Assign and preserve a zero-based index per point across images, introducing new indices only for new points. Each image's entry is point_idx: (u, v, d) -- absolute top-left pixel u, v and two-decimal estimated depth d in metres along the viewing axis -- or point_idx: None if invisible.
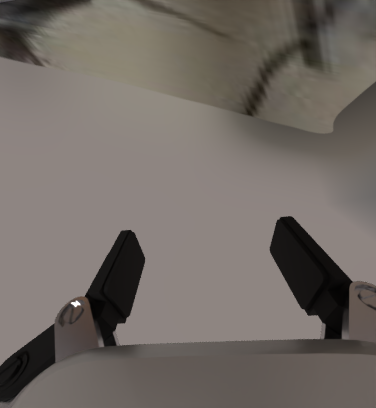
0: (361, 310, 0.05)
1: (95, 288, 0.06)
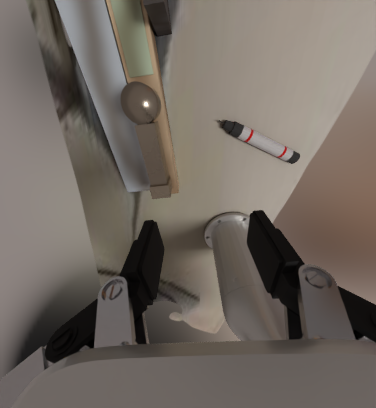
0: (310, 292, 0.06)
1: (131, 268, 0.07)
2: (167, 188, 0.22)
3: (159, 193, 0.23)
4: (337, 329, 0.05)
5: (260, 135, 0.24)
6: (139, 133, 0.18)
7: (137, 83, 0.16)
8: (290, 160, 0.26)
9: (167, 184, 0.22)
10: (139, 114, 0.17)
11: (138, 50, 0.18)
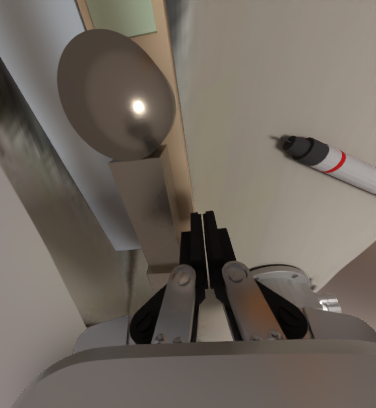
0: (236, 290, 0.06)
1: (196, 257, 0.07)
2: None
3: (166, 282, 0.11)
4: (262, 317, 0.05)
5: (357, 161, 0.13)
6: (122, 180, 0.07)
7: (106, 37, 0.05)
8: None
9: None
10: (119, 136, 0.06)
11: None
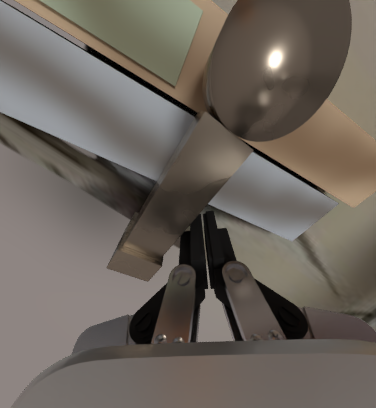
0: (236, 291, 0.06)
1: (196, 257, 0.07)
2: (155, 269, 0.09)
3: (130, 267, 0.09)
4: (262, 317, 0.05)
5: None
6: (198, 140, 0.06)
7: (341, 7, 0.04)
8: None
9: (160, 261, 0.10)
10: (248, 99, 0.05)
11: (144, 15, 0.07)
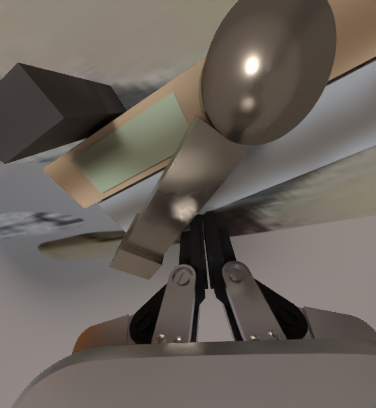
0: (236, 290, 0.06)
1: (196, 257, 0.07)
2: (156, 267, 0.10)
3: (131, 266, 0.10)
4: (262, 317, 0.05)
5: None
6: (193, 145, 0.06)
7: (325, 18, 0.04)
8: None
9: (161, 260, 0.10)
10: (239, 106, 0.05)
11: (152, 134, 0.10)
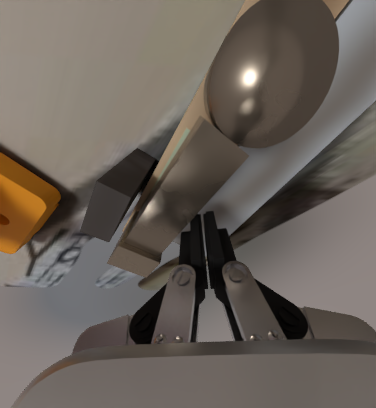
0: (236, 290, 0.06)
1: (195, 256, 0.07)
2: (153, 265, 0.10)
3: (129, 263, 0.10)
4: (262, 317, 0.05)
5: None
6: (198, 145, 0.06)
7: (329, 30, 0.04)
8: None
9: (159, 258, 0.10)
10: (245, 109, 0.05)
11: None
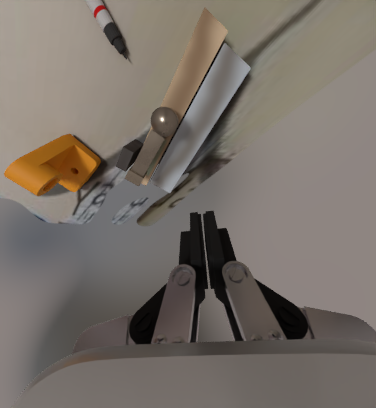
0: (236, 290, 0.06)
1: (195, 256, 0.07)
2: (141, 179, 0.28)
3: (132, 178, 0.28)
4: (262, 317, 0.05)
5: (85, 0, 0.21)
6: (150, 135, 0.24)
7: (172, 112, 0.22)
8: None
9: (143, 177, 0.28)
10: (159, 127, 0.23)
11: None
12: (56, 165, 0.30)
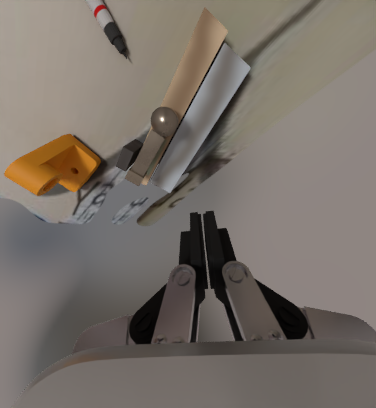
0: (236, 291, 0.06)
1: (195, 257, 0.07)
2: (141, 179, 0.28)
3: (132, 178, 0.28)
4: (262, 317, 0.05)
5: (86, 0, 0.21)
6: (150, 135, 0.24)
7: (172, 112, 0.22)
8: None
9: (143, 177, 0.28)
10: (159, 127, 0.23)
11: None
12: (56, 165, 0.30)
